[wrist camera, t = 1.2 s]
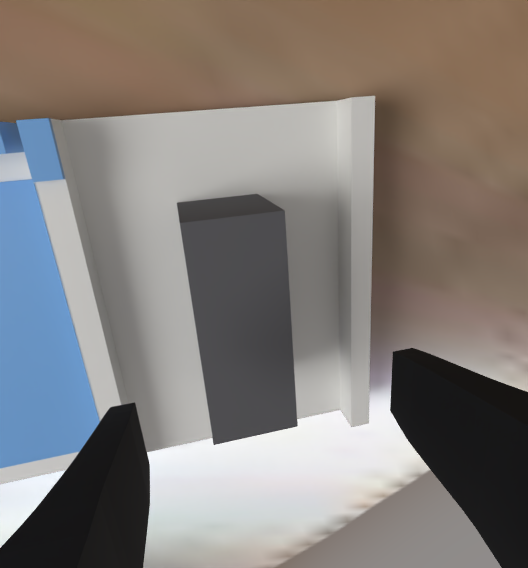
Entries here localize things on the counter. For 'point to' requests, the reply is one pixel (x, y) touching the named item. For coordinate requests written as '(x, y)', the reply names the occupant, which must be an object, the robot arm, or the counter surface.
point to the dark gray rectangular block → (241, 312)
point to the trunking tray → (169, 266)
